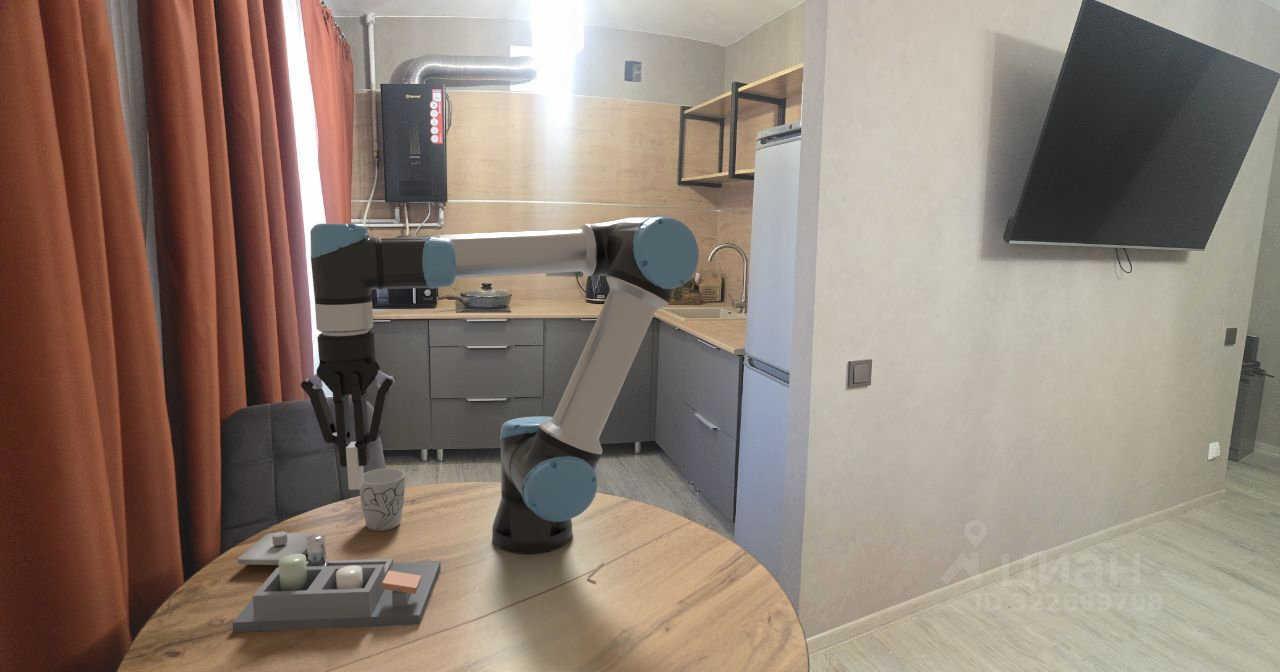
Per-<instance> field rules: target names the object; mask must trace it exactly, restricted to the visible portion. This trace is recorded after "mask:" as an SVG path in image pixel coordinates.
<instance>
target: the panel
mask: <svg viewBox="0 0 1280 672" xmlns="http://www.w3.org/2000/svg"><path fill="white" fill-rule="evenodd" d="M326 562H329V564H330V566H312V567H308V560H306V567H307V584H306V585H305V586H304V587H302V588H300V589H298V590H294V591H283V590H281V588H280V577H279V567H276V568H275V569H274V571H273V572H272V573H271V574H270V575H269V576H268V577H267V578H266V580H265V581H264V583H262V584H261V586H259V588H257V590H256V591H255V592H254V594H253V595H252V599H251V600H250V601H249V603H248V604H247V605H246V606H245V607H244V609H242V611H240V613H239V614H238V615H237V617H235V619H234V620H233V621H232V622H231V623H232V633H243V632H244V633H245V632H271V631H273V632H274V631H295V630H317V629H322V630H323V629H338V628H339V629H342V628H343V629H345V628H364V627H365V628H368V627H387V626H389V627H390V626H391V627H393V626H413V625H414V626H415V625H418V626H419V625H421V623H422V620H423V617H424V615H425V613H426V610H427V606H428V605H429V601H430V600H431V599H430V598H431V595H432V594H433V590H434V588H435V586H436V583H437V580H438V578H439V575H440V572H441V570H442V569H441V568H442V567H441V561H412V562H411V561H410V562H407V561H406V562H394V559H393V558H375V559H373V558H371V559H370V558H369V559H347V560H346V559H343V560H341V559H340V560H337V559H336V560H326ZM352 565H355V566H360V567H361V568H362V577H363V588H358V589H337V583H336V572H337V571H338V570H339V569H341V568H343V567H346V566H352ZM388 571H395V572H402V573H408V574H414V575H421V581H420V584H419V586H418V588H417V591H416V593H415V594H411V593H404V592H400V593H399V594H397V593H396V592H395V591H391V590H385V589H381V587H382V582H383V580H384V579H385V577H386V575H387V573H388Z"/></svg>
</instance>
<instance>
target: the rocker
mask: <svg viewBox="0 0 1280 672" xmlns="http://www.w3.org/2000/svg"><path fill="white" fill-rule="evenodd" d="M420 581H421V575H414V574H408V573H402V572H395V571H388V573H387V575H386V577H385V579H384V580H383V582H382V587H381V589H385V590H391V591H395V592H396V593H397V594H399V593H400V592H404V593H411V594H415V593H416V591H417V588H418V586H419V584H420Z"/></svg>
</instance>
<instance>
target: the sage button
mask: <svg viewBox="0 0 1280 672" xmlns="http://www.w3.org/2000/svg"><path fill="white" fill-rule="evenodd" d="M306 561H307V557H306V555H303V554H291V555H287V556H285V557H283V558H281V559H280V560H279V565H278V568H279V577H280V588H281V590H283V591H294V590H298V589H300V588H302V587H304V586H305V585H306V584H307V567H306Z"/></svg>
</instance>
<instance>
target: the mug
mask: <svg viewBox="0 0 1280 672" xmlns="http://www.w3.org/2000/svg"><path fill="white" fill-rule="evenodd" d="M405 482H406V474H405V472H404V471H403V470H401V469H398V468H378V469H373V470H369V471H366V472H364V483H363V485H362V486H361V488H360V489H358V490H359V497H360V504H361V508H362V509H361V510H362V513H363V517H364V521H365V526H366V527H367V529H369V530H370V531H374V532H383V531H389V530H393V529H394V528H396V527H398V526H399V525H400V524H401V520H402V515H403V509H404V503H405V502H404V501H405V491H406V490H405V488H406V486H405V485H406V483H405Z"/></svg>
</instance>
